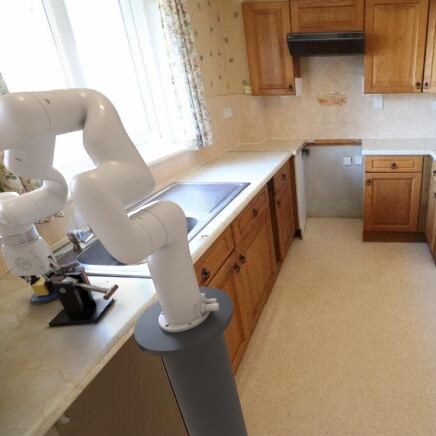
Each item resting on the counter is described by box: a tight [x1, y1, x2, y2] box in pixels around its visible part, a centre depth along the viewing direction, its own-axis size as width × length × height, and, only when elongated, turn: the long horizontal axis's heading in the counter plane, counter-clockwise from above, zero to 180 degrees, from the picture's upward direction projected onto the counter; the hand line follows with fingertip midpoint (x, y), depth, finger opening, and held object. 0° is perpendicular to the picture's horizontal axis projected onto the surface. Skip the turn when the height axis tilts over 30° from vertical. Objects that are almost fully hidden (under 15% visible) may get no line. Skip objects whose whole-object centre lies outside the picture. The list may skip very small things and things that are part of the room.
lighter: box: [51, 260, 92, 285], centre depth 96 cm, size 8×3×10 cm, turn 129°
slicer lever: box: [62, 277, 119, 300], centre depth 86 cm, size 12×5×2 cm, turn 95°
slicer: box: [48, 272, 115, 328], centre depth 87 cm, size 12×9×12 cm
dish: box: [30, 291, 59, 305], centre depth 97 cm, size 8×8×1 cm
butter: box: [30, 276, 49, 296], centre depth 96 cm, size 4×3×4 cm
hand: (47, 290), depth 97 cm, fingers closed on butter, 3 cm apart
